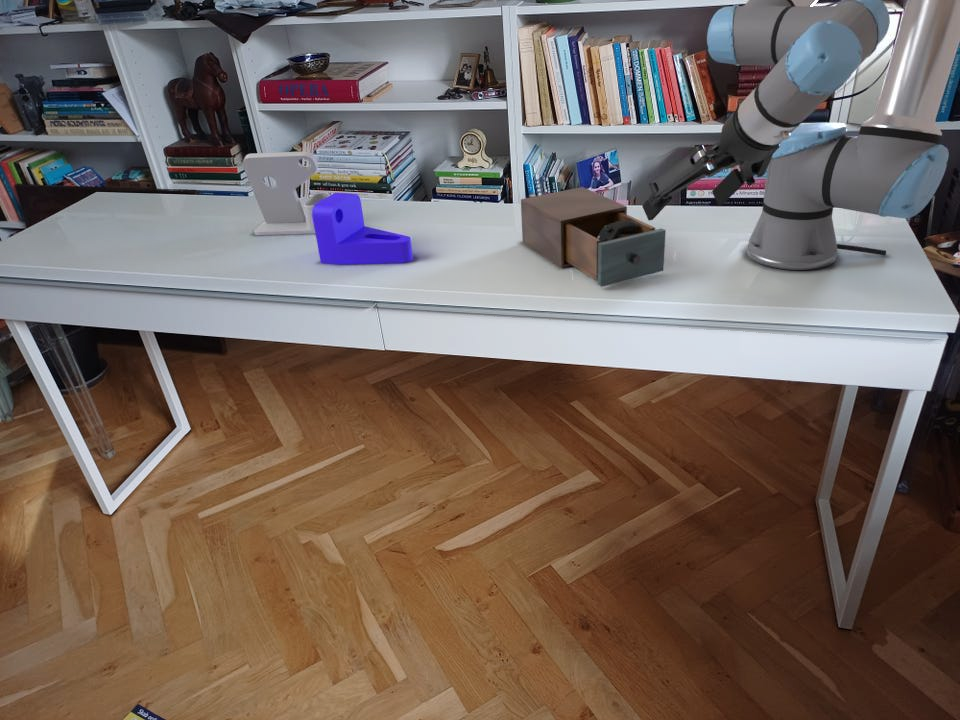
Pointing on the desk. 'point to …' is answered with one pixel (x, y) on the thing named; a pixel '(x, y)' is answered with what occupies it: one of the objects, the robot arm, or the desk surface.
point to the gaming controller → (617, 230)
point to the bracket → (354, 235)
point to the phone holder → (282, 191)
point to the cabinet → (560, 218)
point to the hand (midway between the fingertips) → (682, 205)
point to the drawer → (613, 249)
